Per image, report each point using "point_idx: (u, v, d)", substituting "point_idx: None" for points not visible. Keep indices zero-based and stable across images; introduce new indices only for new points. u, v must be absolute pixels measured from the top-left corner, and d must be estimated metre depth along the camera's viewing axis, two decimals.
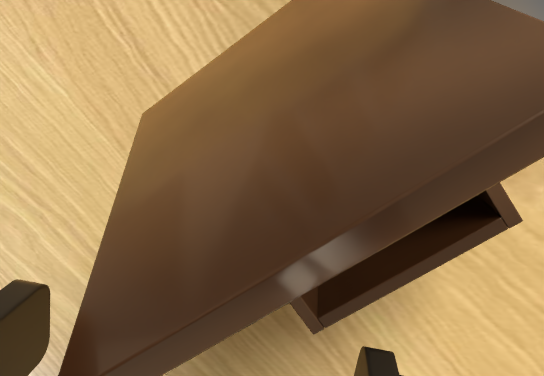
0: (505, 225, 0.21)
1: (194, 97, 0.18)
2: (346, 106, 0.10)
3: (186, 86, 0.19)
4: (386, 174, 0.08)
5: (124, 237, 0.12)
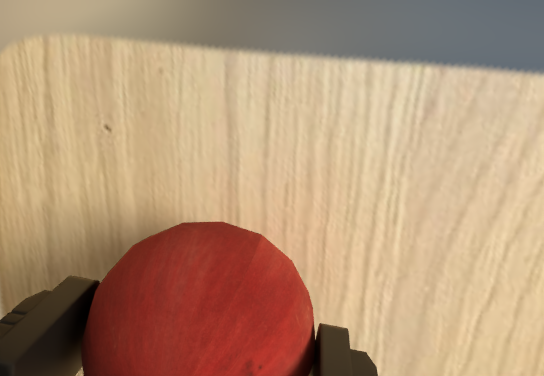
0: None
1: None
2: None
3: None
4: None
5: None
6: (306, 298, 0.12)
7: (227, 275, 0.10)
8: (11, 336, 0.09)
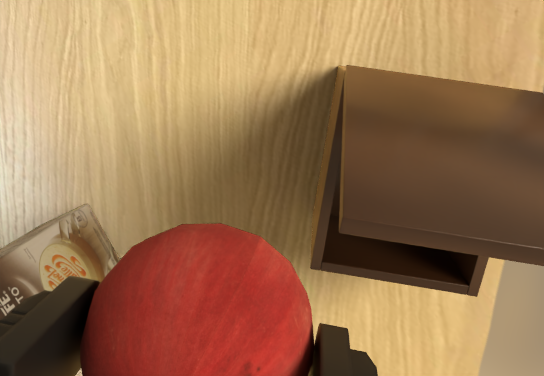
0: (466, 291, 0.31)
1: (405, 94, 0.25)
2: (537, 190, 0.19)
3: (392, 77, 0.27)
4: None
5: (369, 154, 0.20)
6: (304, 299, 0.12)
7: (226, 277, 0.10)
8: (11, 336, 0.09)
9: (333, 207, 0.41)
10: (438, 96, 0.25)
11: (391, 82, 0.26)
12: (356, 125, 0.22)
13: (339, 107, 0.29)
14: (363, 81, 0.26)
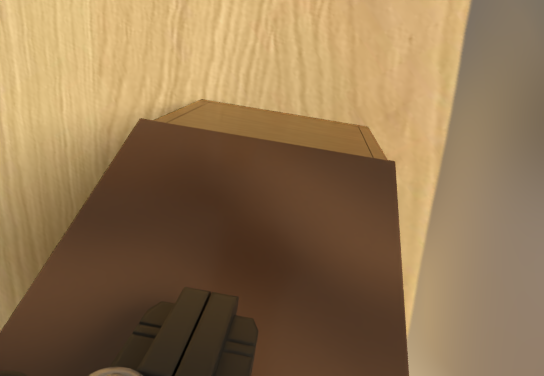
0: None
1: (191, 173, 0.18)
2: None
3: (192, 139, 0.20)
4: None
5: (55, 307, 0.14)
6: None
7: None
8: (157, 348, 0.10)
9: None
10: (237, 175, 0.18)
11: (184, 150, 0.19)
12: (75, 243, 0.15)
13: None
14: (143, 149, 0.19)
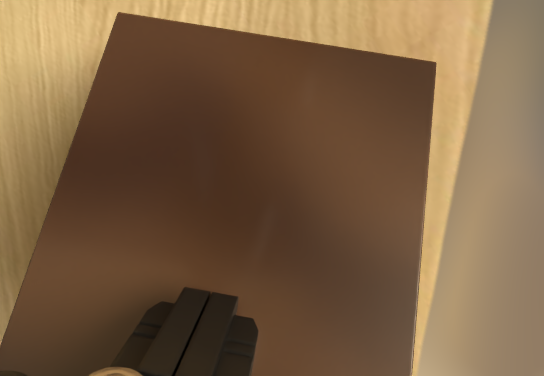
0: None
1: (184, 98, 0.15)
2: (281, 362, 0.13)
3: (183, 44, 0.16)
4: None
5: (57, 288, 0.13)
6: None
7: None
8: (157, 348, 0.10)
9: None
10: (239, 99, 0.15)
11: (174, 62, 0.16)
12: (66, 207, 0.14)
13: None
14: (126, 65, 0.16)
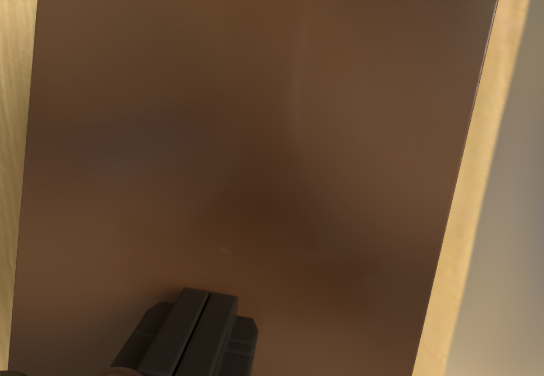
0: None
1: (155, 37, 0.12)
2: (283, 344, 0.13)
3: None
4: None
5: (52, 271, 0.13)
6: None
7: None
8: (157, 348, 0.10)
9: None
10: (226, 35, 0.12)
11: None
12: (40, 184, 0.13)
13: None
14: None
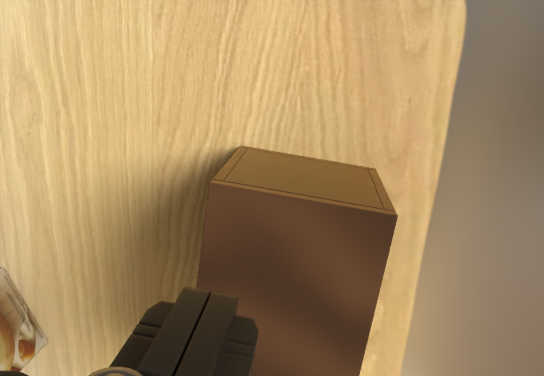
0: None
1: (254, 238, 0.29)
2: (306, 356, 0.30)
3: (250, 204, 0.28)
4: None
5: None
6: None
7: None
8: (157, 348, 0.10)
9: None
10: (283, 238, 0.28)
11: (246, 216, 0.28)
12: None
13: None
14: (220, 218, 0.28)
